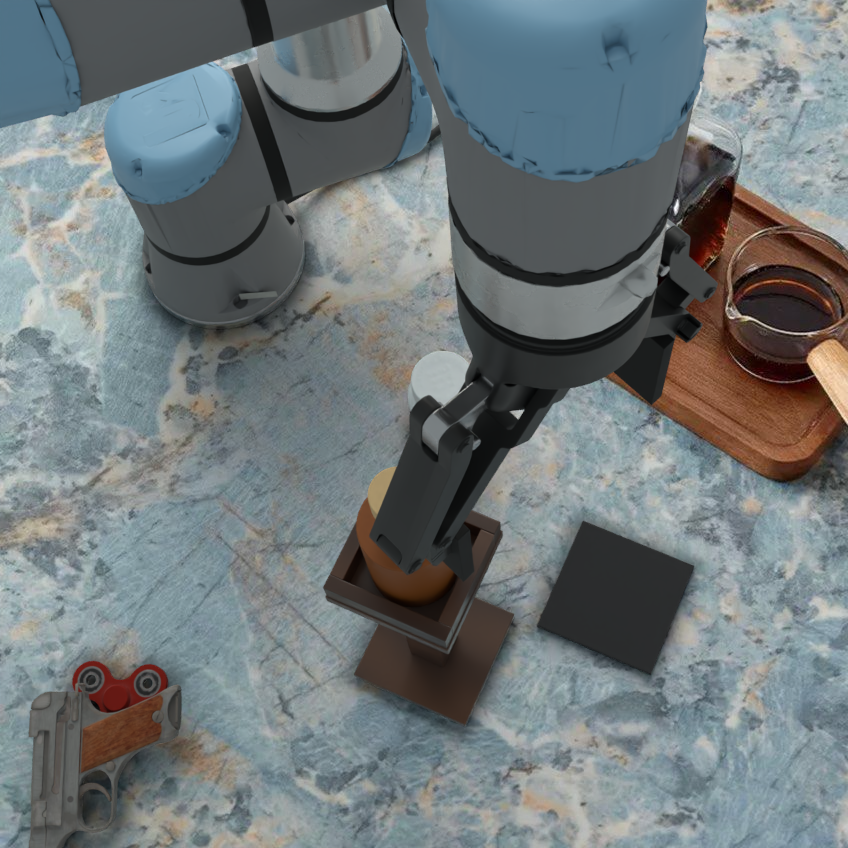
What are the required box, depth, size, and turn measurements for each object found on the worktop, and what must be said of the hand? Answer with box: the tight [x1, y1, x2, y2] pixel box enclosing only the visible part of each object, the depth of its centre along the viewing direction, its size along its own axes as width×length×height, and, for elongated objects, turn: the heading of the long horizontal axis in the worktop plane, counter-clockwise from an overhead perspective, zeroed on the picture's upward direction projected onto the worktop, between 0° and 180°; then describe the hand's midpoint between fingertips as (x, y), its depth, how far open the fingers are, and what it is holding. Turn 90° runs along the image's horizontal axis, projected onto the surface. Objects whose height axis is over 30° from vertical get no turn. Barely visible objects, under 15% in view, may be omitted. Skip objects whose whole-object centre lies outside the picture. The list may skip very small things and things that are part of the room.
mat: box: [536, 520, 695, 676], centre depth 109 cm, size 10×10×1 cm
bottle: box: [355, 466, 457, 607], centre depth 81 cm, size 6×6×13 cm
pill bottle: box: [406, 350, 470, 413], centre depth 111 cm, size 6×6×11 cm
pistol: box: [28, 683, 183, 848], centre depth 104 cm, size 19×2×12 cm
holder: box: [322, 509, 515, 728], centre depth 97 cm, size 10×10×25 cm
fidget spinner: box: [71, 660, 169, 713], centre depth 108 cm, size 8×7×1 cm
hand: (545, 469), depth 67 cm, fingers open, 13 cm apart
